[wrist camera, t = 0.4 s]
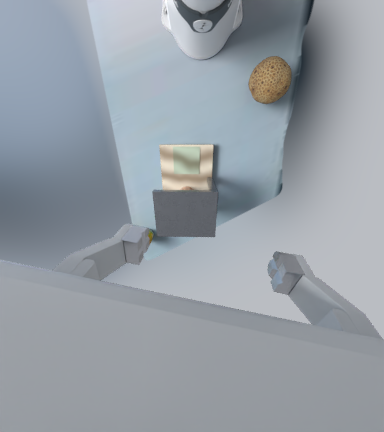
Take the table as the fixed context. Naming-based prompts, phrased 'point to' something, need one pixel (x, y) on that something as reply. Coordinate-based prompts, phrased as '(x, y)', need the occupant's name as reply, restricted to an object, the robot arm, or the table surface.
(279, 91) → the natural sponge
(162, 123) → the table surface
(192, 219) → the tunnel roof
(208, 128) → the table surface
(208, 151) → the birch board
